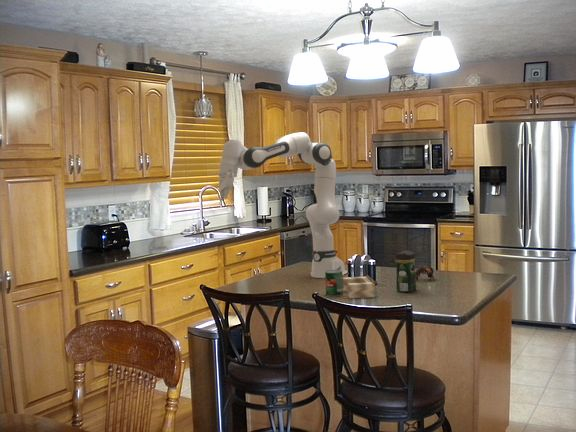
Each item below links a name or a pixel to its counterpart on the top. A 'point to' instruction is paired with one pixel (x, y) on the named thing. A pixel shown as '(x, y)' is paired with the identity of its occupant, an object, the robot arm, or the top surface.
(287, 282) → the top surface
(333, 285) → the canned tomato
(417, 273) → the brown arched piece
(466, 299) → the top surface
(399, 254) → the coffee jar
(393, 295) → the top surface
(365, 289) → the holder
